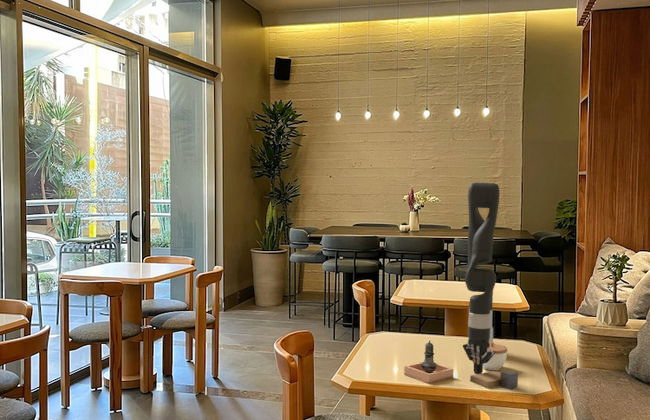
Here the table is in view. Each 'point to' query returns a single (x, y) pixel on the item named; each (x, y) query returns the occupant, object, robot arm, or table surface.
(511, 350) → the table surface
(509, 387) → the dark gray block
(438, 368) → the tray
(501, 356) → the lidded jar
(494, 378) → the bronze block
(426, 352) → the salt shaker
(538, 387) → the table surface
